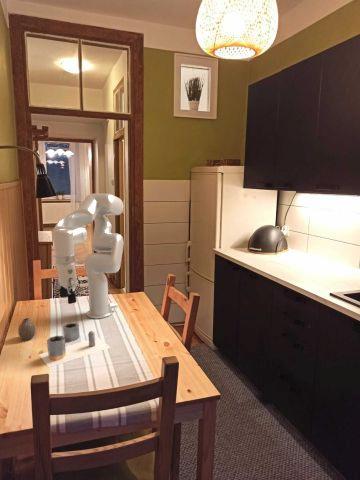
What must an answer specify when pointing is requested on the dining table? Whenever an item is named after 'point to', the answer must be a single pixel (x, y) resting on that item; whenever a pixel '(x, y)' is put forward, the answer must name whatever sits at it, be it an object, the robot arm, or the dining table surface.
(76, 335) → the loose sleeve
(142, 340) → the dining table surface
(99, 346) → the pin board
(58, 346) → the seated sleeve
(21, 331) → the vase
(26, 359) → the dining table surface
